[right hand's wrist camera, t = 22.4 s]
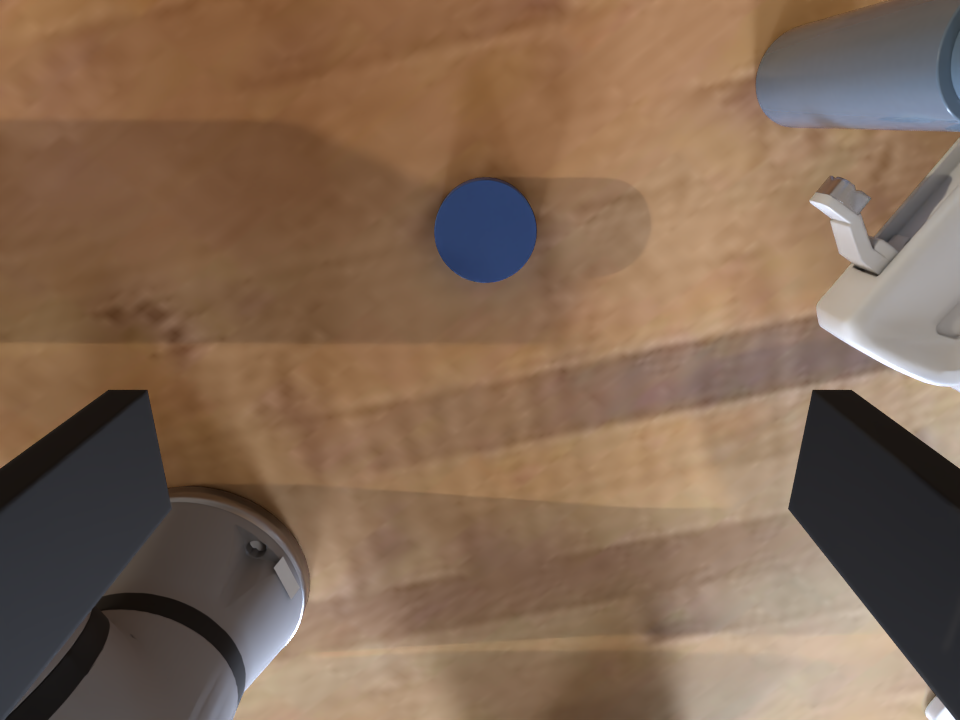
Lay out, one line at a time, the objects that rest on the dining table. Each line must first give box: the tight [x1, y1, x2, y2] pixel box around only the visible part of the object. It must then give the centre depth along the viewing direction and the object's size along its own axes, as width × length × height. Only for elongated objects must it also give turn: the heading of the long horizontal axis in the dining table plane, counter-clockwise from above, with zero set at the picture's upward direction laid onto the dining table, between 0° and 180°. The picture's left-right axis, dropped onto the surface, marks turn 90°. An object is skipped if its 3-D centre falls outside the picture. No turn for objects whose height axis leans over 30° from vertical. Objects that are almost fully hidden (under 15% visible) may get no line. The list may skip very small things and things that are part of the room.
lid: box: [434, 177, 537, 283], centre depth 37 cm, size 6×6×2 cm
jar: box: [756, 0, 960, 132], centre depth 27 cm, size 5×5×16 cm
